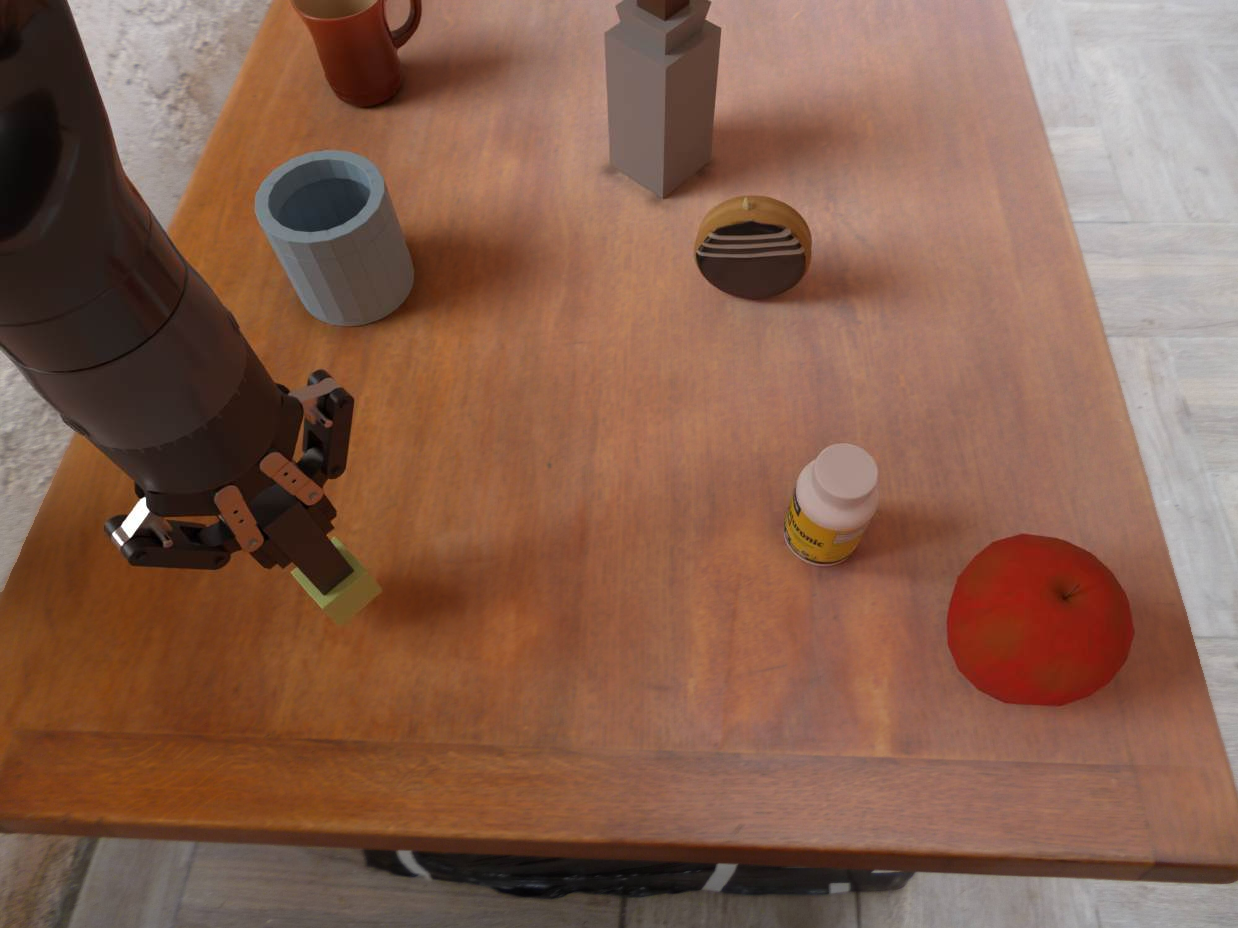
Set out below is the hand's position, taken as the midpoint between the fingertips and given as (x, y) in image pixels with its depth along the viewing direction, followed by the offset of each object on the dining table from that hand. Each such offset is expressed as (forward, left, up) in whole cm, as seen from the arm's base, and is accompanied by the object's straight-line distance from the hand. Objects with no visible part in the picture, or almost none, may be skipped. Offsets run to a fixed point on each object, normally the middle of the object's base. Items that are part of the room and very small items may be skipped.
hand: (299, 538), depth 51 cm
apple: (+29, -34, -11) cm, 46 cm away
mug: (+36, +44, -11) cm, 58 cm away
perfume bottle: (+47, +15, -11) cm, 50 cm away
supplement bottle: (+27, -20, -11) cm, 35 cm away
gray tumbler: (+18, +24, -11) cm, 32 cm away
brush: (0, 0, -9) cm, 9 cm away
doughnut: (+41, -1, -11) cm, 42 cm away
